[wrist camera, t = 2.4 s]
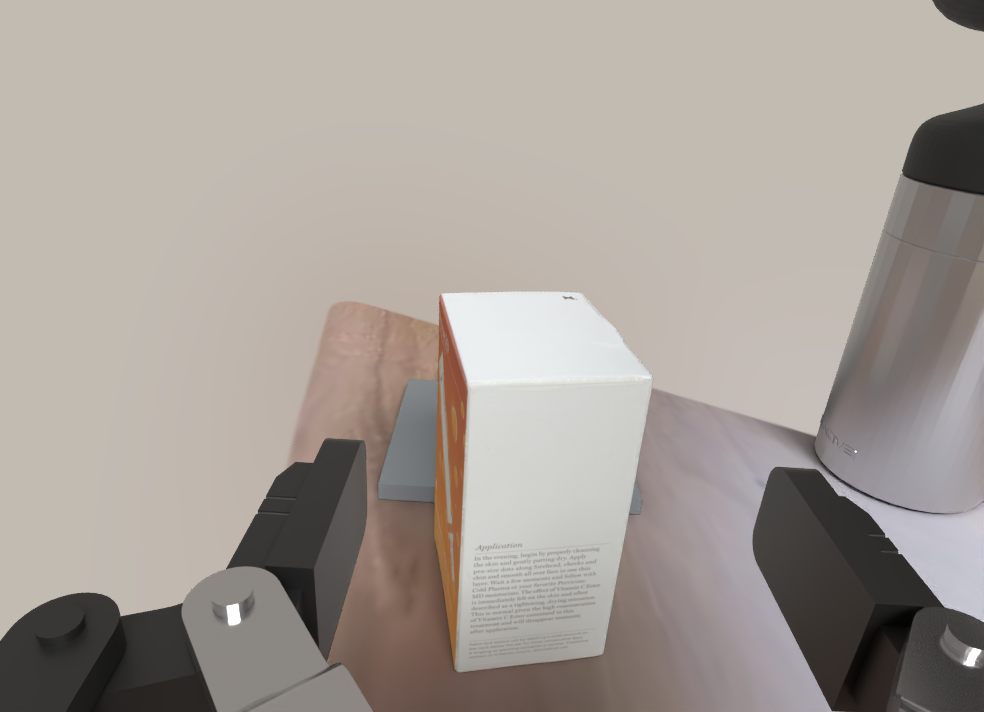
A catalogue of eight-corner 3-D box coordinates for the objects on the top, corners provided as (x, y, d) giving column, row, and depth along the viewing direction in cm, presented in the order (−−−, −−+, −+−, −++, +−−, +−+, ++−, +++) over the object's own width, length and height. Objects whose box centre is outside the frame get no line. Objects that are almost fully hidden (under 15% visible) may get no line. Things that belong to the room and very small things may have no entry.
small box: (431, 536, 32) (437, 289, 27) (554, 527, 33) (584, 289, 28) (450, 679, 25) (464, 380, 19) (606, 661, 26) (661, 375, 21)
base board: (607, 403, 46) (609, 390, 45) (639, 514, 35) (642, 498, 34) (408, 391, 45) (408, 378, 45) (378, 499, 35) (378, 482, 34)
